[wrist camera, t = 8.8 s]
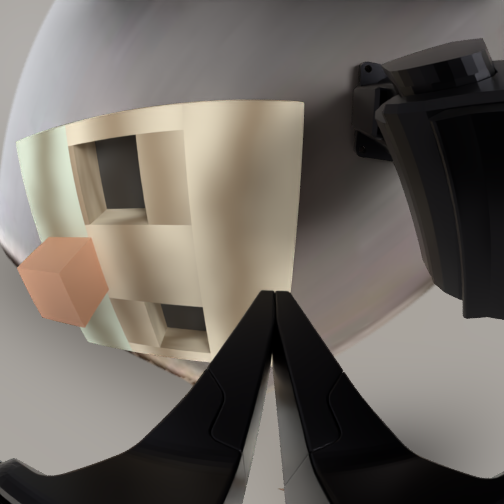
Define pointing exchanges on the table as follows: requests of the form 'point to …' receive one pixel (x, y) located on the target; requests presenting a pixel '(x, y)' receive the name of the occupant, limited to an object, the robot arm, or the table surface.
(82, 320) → the block
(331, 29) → the table surface
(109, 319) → the cream flat piece
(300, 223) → the table surface
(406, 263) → the table surface
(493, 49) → the table surface
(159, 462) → the robot arm
